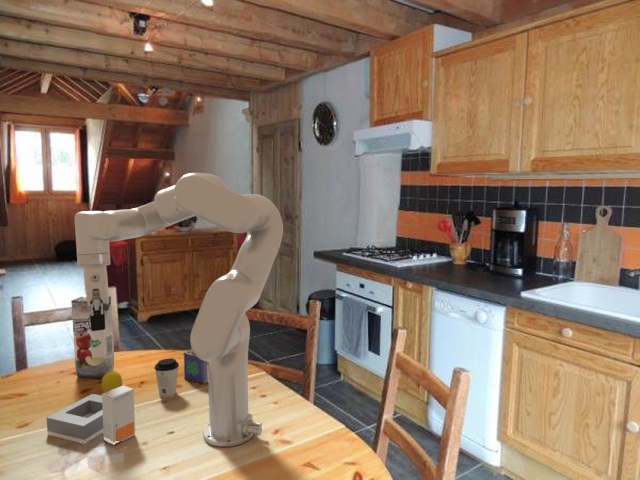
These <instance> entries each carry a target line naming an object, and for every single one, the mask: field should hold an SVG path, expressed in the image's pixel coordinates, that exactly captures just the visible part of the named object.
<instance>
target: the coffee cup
mask: <svg viewBox="0 0 640 480" xmlns="http://www.w3.org/2000/svg"><path fill="white" fill-rule="evenodd" d="M179 366H180V363H178V361H177V360H176V359H175V358H163V359H160V360H159V361H158V362H157V363H156V364H155V365H154V367H153V368H154V371H155V376H156V381H157V387H158V394H159V397H160V398H166V399H167V398H171V397H173V396H175V395H176V394H177V384H178V373H179Z"/></svg>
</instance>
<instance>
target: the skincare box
mask: <svg viewBox="0 0 640 480" xmlns="http://www.w3.org/2000/svg"><path fill="white" fill-rule="evenodd" d="M101 396H102V409H103V433H102V434H103V438H104V437H105V438H108V439H110V440H111V441H113V442H115V441H121V440H122V442H123V441H126V440H128V439H130V438H132V437H134V436H136V424H135V423H136V421H135V417H136V416H135V389H134V388H132V387H130V386H126V385H123V384H122V386H121V387H118V388H115V389H113V390H111V391H109V392H106V393H104V392H103V393H101Z"/></svg>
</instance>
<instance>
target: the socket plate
mask: <svg viewBox="0 0 640 480" xmlns="http://www.w3.org/2000/svg"><path fill="white" fill-rule="evenodd" d="M45 418H46V429H47V435H48V436H52V437H56V438H60V439H63V440H67V441H71V442H76V443H79V442H81V443H80V444H83V443H85V442H87V441H88V440H90V441H92V440H93V439H95V438H96V437H99V435H101V434H103V409H102V394H100V395H99V394H95V393H90V394H89V395H88V396H85V397H83V398H81V399H80V400H77V401H76V402H74V403H72V404H70V405H67V406H66V407H63V408H62V409H60V410H58V411H55V412H54V413H52V414H51V415H49V416H46V417H45ZM91 439H92V440H91ZM88 442H89V441H88ZM88 442H87V443H88ZM85 444H86V443H85Z"/></svg>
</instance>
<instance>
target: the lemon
mask: <svg viewBox="0 0 640 480" xmlns="http://www.w3.org/2000/svg"><path fill="white" fill-rule="evenodd" d="M101 379H102V380H101V389H102V392H103V393H106V392H109V391H111V390H113V389H115V388H118V387H121V386H123V379H122V375H121V374H120V373H119V372H118V371H115V370H114V369H113V370H111V371H110V372H108V373H106V374H105V375H104V377H103V378H101Z"/></svg>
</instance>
